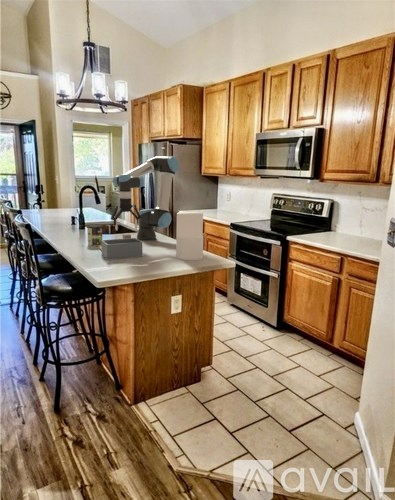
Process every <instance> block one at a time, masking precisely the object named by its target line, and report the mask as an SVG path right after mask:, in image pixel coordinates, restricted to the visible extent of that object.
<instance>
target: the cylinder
mask: <svg viewBox="0 0 395 500" xmlns="http://www.w3.org/2000/svg"><path fill="white" fill-rule="evenodd" d="M203 225H204V212H200V211H179V212H177V213H176V237H175V238H176V244H175V245H176V246H175V247H176V248H175V257H176V258H177V259H179V260H185V261H196V260H201V259H203V257H204V237H205V236H204V234H203V230H204V229H203V228H204V227H203Z"/></svg>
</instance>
